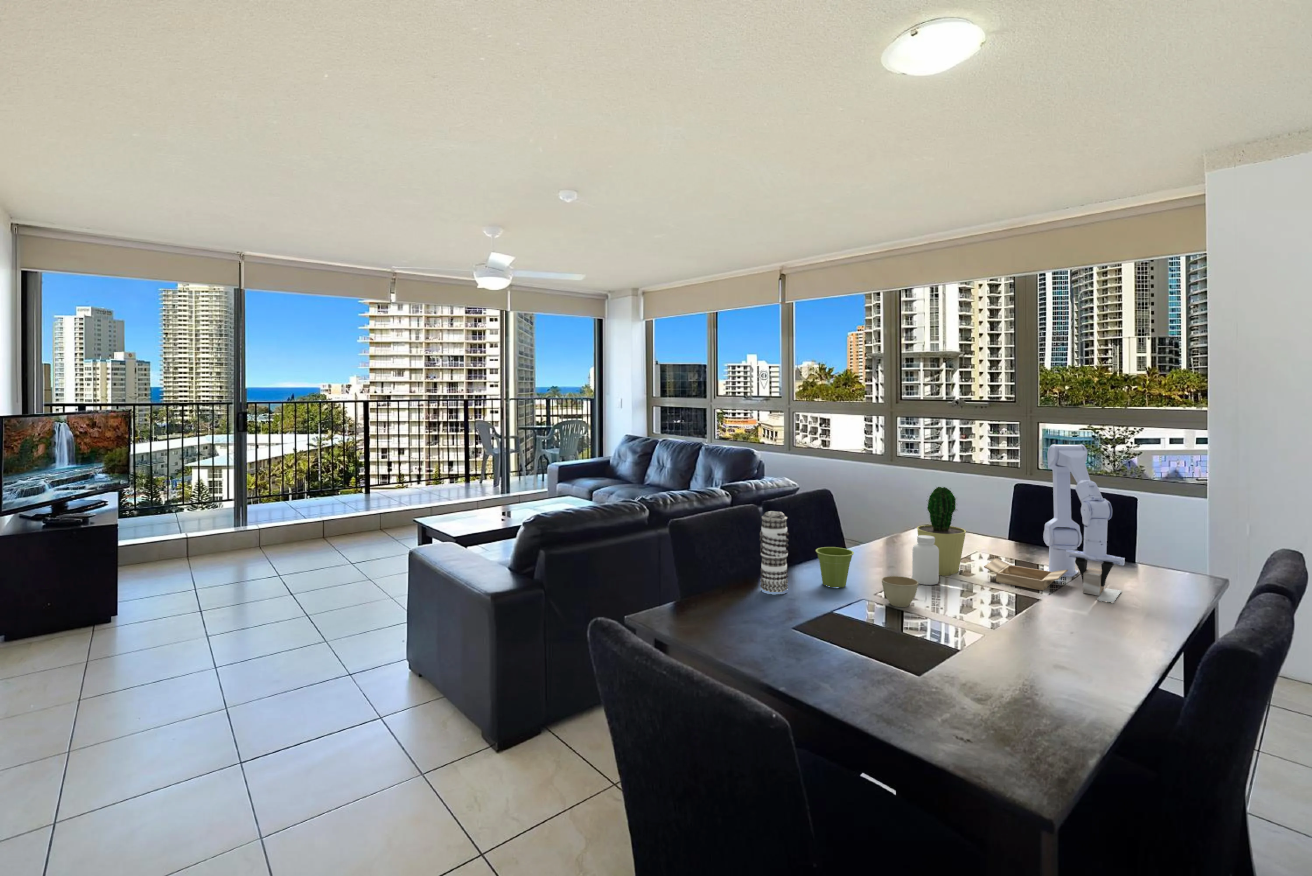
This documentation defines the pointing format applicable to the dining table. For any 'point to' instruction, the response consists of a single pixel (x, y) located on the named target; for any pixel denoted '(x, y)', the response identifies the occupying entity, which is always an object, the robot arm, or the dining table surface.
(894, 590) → the flower pot
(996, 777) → the dining table surface
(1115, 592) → the grey mat
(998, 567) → the carton
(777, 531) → the decorative candle
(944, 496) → the potted cactus
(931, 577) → the pill bottle
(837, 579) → the plant pot
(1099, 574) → the block
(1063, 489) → the robot arm
